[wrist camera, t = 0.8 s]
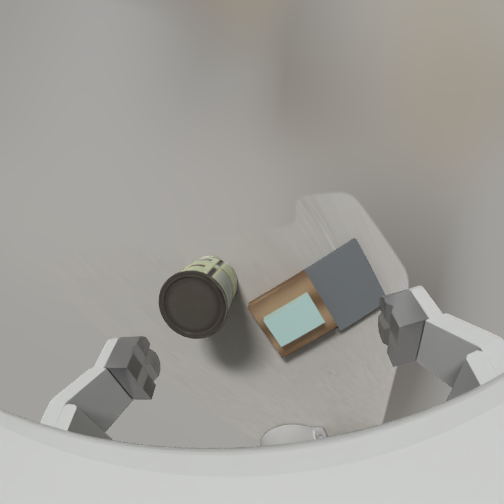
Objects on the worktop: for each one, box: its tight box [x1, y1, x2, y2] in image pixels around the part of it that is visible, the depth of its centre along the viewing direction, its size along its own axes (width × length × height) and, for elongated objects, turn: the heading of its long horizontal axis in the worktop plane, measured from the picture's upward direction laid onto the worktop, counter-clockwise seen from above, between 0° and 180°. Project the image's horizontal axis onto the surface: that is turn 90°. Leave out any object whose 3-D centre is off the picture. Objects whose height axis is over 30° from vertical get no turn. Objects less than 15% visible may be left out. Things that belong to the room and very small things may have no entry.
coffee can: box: [159, 256, 237, 339], centre depth 47 cm, size 10×10×14 cm
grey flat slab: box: [304, 238, 385, 331], centre depth 52 cm, size 14×11×2 cm
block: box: [264, 292, 325, 347], centre depth 50 cm, size 6×9×2 cm, turn 123°
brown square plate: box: [248, 270, 337, 357], centre depth 52 cm, size 12×12×3 cm
